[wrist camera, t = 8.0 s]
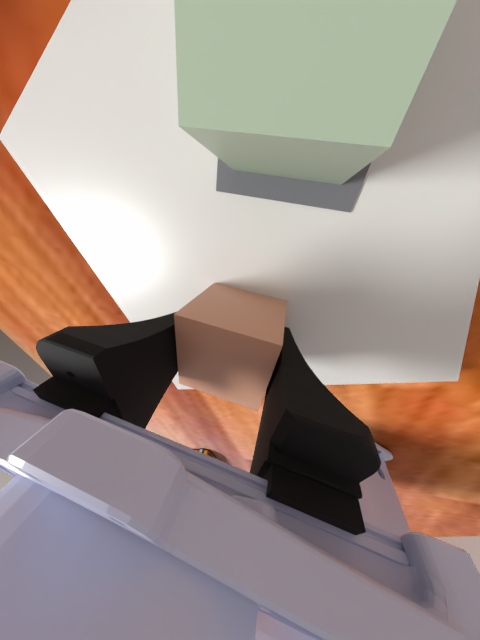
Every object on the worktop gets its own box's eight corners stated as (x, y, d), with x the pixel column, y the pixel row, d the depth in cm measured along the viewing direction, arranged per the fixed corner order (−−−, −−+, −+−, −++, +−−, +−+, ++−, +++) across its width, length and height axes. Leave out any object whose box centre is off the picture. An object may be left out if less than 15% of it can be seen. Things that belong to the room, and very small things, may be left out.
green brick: (423, -38, 5) (974, -1143, 1) (341, 184, 7) (390, 147, 3) (252, -30, 5) (152, -611, 2) (233, 170, 8) (178, 126, 4)
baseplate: (445, 368, 11) (459, 382, 10) (182, 382, 20) (177, 390, 19) (643, -845, 2) (874, -1552, 1) (20, 143, 11) (-4, 136, 10)
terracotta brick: (287, 300, 10) (282, 345, 7) (268, 356, 13) (257, 411, 9) (214, 282, 11) (173, 314, 7) (210, 338, 14) (179, 383, 10)
